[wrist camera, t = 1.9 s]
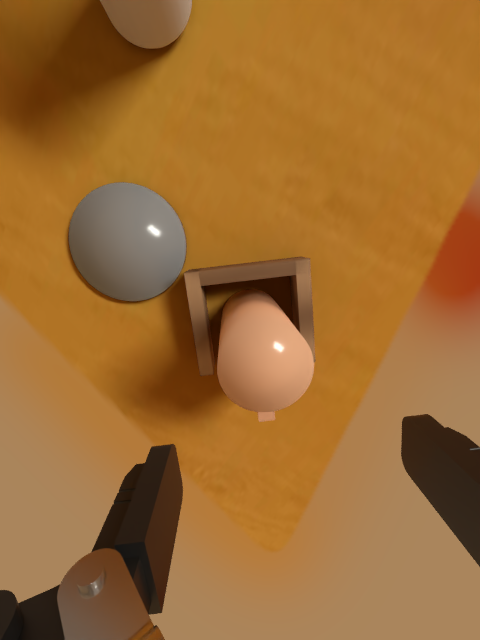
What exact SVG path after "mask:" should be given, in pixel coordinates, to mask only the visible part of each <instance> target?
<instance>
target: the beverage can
mask: <svg viewBox="0 0 480 640" xmlns="http://www.w3.org/2000/svg"><path fill="white" fill-rule="evenodd" d="M100 2H101V4H102V6H103V7H104V9H105V11H106V13H107V15H108V17H109V19H110V20H111V22H112V24H113V25H114V27H115V28H116V30H117V31H118V32H119V33H120V34H121V35H122V36H123V37H124V38H125V39H126V40H128V41H129V42H131V43H132V44H134V45H137V46H139V47H142V48H148V49H153V48H161V47H164V46H167V45H169V44H170V43H172V42H173V41H174V40H176V39H177V38H178V37H179V36H180V34H181V33H182V32H183V30H184V29H185V27H186V25H187V22H188V19H189V16H190V12H191V6H192V0H100Z"/></svg>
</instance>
